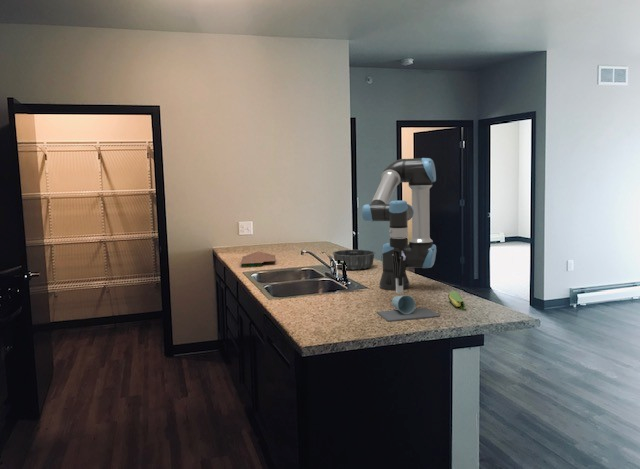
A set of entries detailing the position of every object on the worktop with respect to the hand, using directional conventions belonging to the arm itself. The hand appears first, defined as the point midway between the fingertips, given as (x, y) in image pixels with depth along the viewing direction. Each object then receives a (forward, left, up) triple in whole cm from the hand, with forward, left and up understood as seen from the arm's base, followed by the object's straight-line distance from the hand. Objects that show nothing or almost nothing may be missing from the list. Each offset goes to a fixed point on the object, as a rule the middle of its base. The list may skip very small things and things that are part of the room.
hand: (399, 292), depth 228 cm
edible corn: (+1, +26, -8) cm, 27 cm away
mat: (+9, 0, -7) cm, 12 cm away
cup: (-1, -1, -4) cm, 4 cm away
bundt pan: (-107, +11, -8) cm, 108 cm away
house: (-151, -44, -8) cm, 157 cm away
